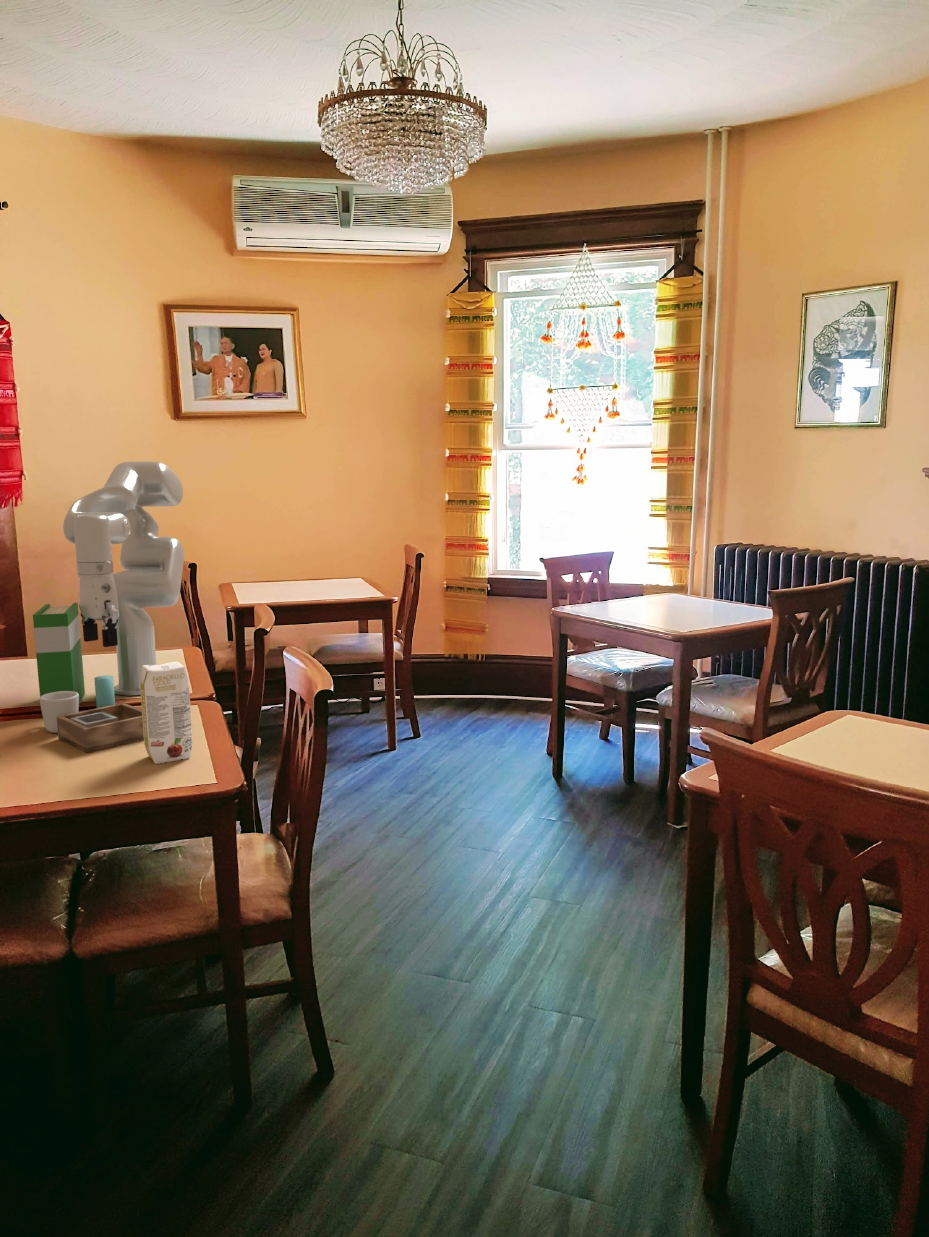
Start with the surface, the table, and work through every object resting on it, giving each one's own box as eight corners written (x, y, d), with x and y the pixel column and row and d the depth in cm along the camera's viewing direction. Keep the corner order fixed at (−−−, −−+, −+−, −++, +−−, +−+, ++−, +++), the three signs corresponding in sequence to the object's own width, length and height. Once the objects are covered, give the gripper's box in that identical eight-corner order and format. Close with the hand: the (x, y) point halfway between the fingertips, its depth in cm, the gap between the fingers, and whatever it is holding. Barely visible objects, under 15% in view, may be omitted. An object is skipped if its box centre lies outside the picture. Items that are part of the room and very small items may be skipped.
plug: (111, 715, 205) (108, 674, 203) (119, 719, 202) (116, 677, 201) (94, 719, 202) (91, 677, 200) (102, 722, 199) (99, 680, 198)
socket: (104, 729, 191) (102, 711, 190) (118, 735, 186) (117, 717, 186) (72, 736, 186) (70, 718, 185) (86, 743, 181) (85, 724, 181)
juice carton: (195, 758, 174) (190, 666, 171) (151, 766, 170) (145, 672, 167) (185, 748, 181) (180, 659, 177) (142, 756, 176) (136, 664, 173)
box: (125, 724, 198) (123, 702, 197) (155, 736, 189) (154, 714, 188) (58, 738, 187) (56, 716, 186) (87, 753, 178) (85, 729, 177)
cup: (31, 727, 196) (28, 693, 194) (67, 720, 201) (64, 686, 200) (51, 737, 188) (48, 702, 187) (87, 729, 194) (84, 695, 193)
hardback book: (53, 696, 223) (45, 604, 219) (85, 694, 225) (77, 602, 221) (41, 714, 206) (32, 615, 202) (75, 712, 208) (67, 613, 204)
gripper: (129, 570, 193) (134, 646, 196) (94, 565, 205) (99, 636, 207) (95, 573, 188) (101, 650, 190) (62, 567, 199) (68, 641, 202)
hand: (100, 643), depth 199 cm, fingers open, 9 cm apart
